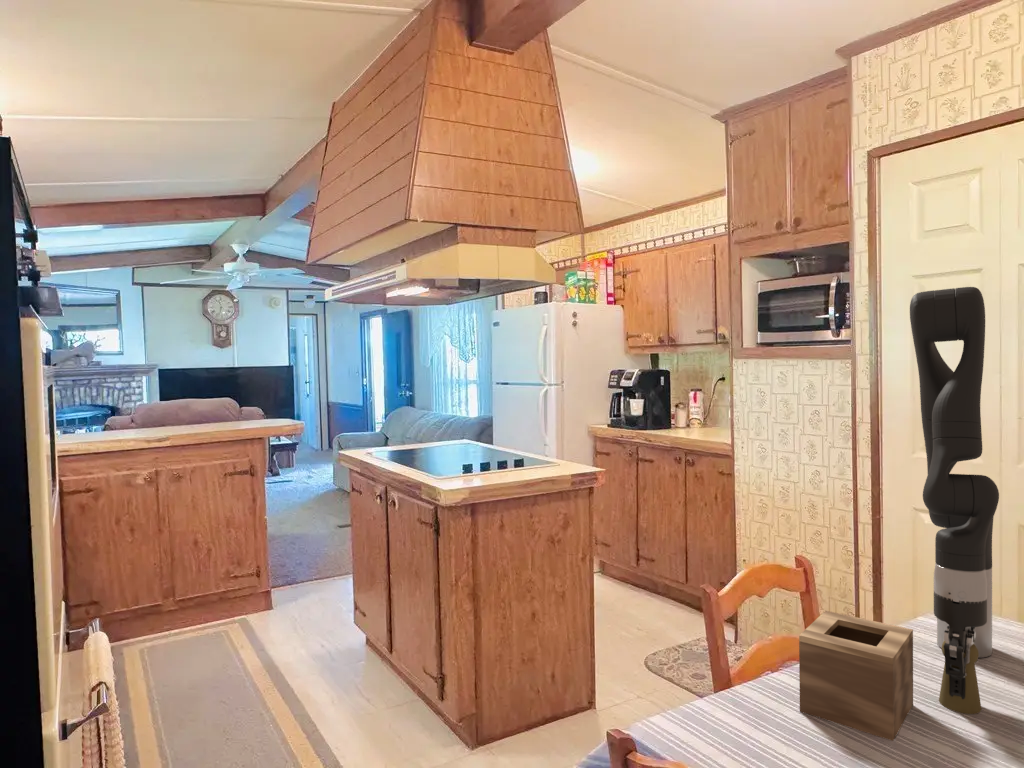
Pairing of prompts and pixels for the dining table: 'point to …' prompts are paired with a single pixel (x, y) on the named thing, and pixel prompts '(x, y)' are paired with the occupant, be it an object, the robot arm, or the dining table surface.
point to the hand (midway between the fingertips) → (959, 691)
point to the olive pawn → (971, 691)
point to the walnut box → (857, 673)
